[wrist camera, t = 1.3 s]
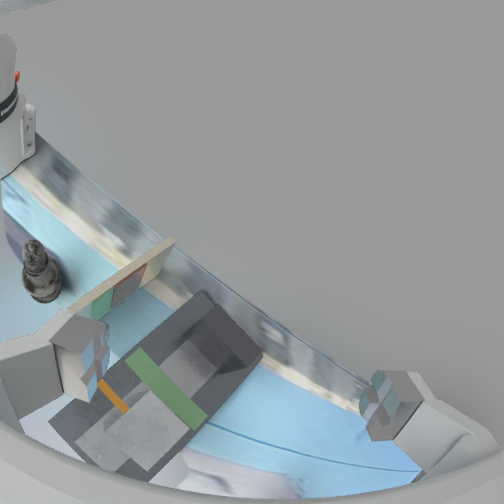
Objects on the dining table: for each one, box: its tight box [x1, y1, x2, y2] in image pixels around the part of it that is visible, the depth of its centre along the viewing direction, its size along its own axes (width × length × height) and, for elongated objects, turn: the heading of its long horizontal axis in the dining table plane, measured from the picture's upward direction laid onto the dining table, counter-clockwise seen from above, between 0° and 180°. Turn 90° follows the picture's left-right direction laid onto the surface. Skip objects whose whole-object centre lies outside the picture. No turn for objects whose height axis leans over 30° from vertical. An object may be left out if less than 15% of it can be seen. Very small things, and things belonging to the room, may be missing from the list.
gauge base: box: [33, 236, 263, 482], centre depth 32 cm, size 30×21×10 cm
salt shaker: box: [22, 240, 61, 303], centre depth 29 cm, size 6×6×12 cm
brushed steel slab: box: [97, 379, 190, 471], centre depth 25 cm, size 6×8×12 cm
